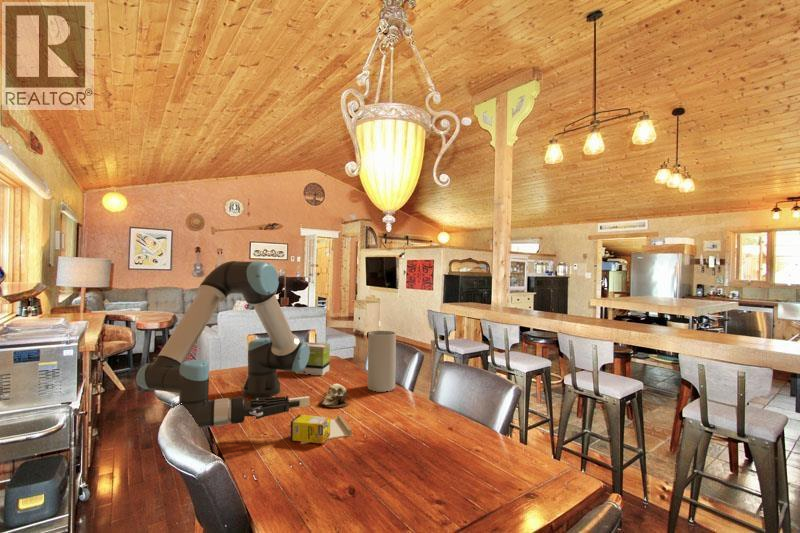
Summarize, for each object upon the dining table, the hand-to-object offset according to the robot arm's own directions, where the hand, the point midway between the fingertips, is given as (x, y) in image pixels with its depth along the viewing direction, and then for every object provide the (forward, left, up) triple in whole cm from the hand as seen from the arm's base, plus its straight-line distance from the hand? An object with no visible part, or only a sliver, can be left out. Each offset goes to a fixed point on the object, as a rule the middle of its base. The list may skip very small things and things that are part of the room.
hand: (309, 400), depth 124 cm
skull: (-28, +3, -11) cm, 30 cm away
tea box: (-71, -16, -11) cm, 74 cm away
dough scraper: (-2, +4, -11) cm, 11 cm away
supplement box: (+3, -4, -7) cm, 9 cm away
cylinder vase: (-48, +21, -11) cm, 53 cm away
